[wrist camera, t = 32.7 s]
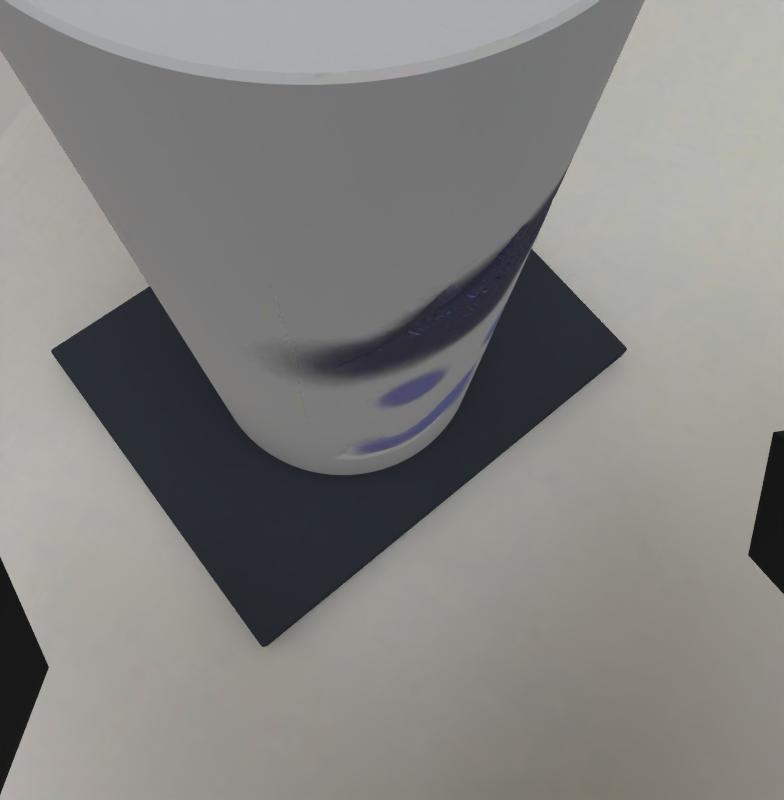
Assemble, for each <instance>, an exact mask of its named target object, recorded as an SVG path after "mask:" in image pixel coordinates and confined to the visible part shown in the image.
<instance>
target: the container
mask: <svg viewBox="0 0 784 800" xmlns="http://www.w3.org/2000/svg"><path fill="white" fill-rule="evenodd" d="M643 3H644V0H0V50H1V52H2V53H3V55H4V56H5V58H6V59H7V61H8V62H9V64H10V66H11V67H12V69H13V70H14V72H15V74H16V75H17V77H18V78H19V80H20V82H21V83H22V85H23V86H24V88H25V90H26V91H27V93H28V94H29V96H30V97H31V99H32V101H33V102H34V104H35V105H36V107H37V109H38V110H39V112H40V113H41V115H42V116H43V118H44V120H45V121H46V123H47V124H48V126H49V127H50V129H51V131H52V132H53V134H54V135H55V137H56V138H57V140H58V142H59V143H60V145H61V146H62V148H63V150H64V151H65V153H66V154H67V156H68V157H69V159H70V161H71V162H72V164H73V165H74V167H75V168H76V170H77V172H78V173H79V175H80V176H81V178H82V180H83V181H84V183H85V184H86V186H87V187H88V189H89V191H90V192H91V194H92V195H93V197H94V198H95V200H96V202H97V203H98V205H99V206H100V208H101V210H102V211H103V213H104V214H105V216H106V217H107V219H108V221H109V222H110V224H111V225H112V227H113V228H114V230H115V232H116V233H117V235H118V236H119V238H120V239H121V241H122V243H123V244H124V246H125V247H126V249H127V251H128V252H129V254H130V255H131V257H132V258H133V260H134V262H135V263H136V265H137V266H138V268H139V269H140V271H141V273H142V274H143V276H144V277H145V279H146V281H147V282H148V284H149V285H150V287H151V288H152V290H153V292H154V293H155V295H156V296H157V298H158V299H159V301H160V303H161V304H162V306H163V307H164V309H165V310H166V312H167V314H168V315H169V317H170V318H171V320H172V322H173V323H174V325H175V326H176V328H177V329H178V331H179V333H180V334H181V336H182V337H183V339H184V340H185V342H186V344H187V345H188V347H189V348H190V350H191V352H192V353H193V355H194V356H195V358H196V359H197V361H198V363H199V364H200V366H201V367H202V369H203V370H204V372H205V374H206V375H207V377H208V378H209V380H210V382H211V383H212V385H213V386H214V388H215V389H216V391H217V393H218V394H219V396H220V397H221V399H222V400H223V402H224V404H225V405H226V407H227V408H228V410H229V412H230V413H231V415H232V416H233V418H234V419H235V421H236V422H237V424H238V425H239V426H240V427H241V429H242V430H243V431H244V432H245V433H246V434H247V435H248V437H250V438H251V439H252V440H253V441H254V442H255V443H256V444H257V445H258V446H260V447H261V448H262V449H264V450H265V451H266V452H268V453H269V454H271V455H272V456H274V457H276V458H278V459H279V460H281V461H283V462H285V463H288V464H290V465H292V466H295V467H298V468H301V469H304V470H308V471H311V472H316V473H322V474H330V475H356V474H364V473H369V472H374V471H378V470H382V469H385V468H388V467H390V466H393V465H396V464H398V463H400V462H402V461H404V460H406V459H408V458H410V457H412V456H413V455H415V454H416V453H418V452H419V451H421V450H422V449H424V448H425V447H426V446H428V445H429V444H430V443H431V442H432V441H433V440H434V439H435V438H436V437H437V436H438V435H439V434H440V433H441V432H442V431H443V430H444V429H445V427H446V426H447V425H448V424H449V422H450V421H451V420H452V418H453V416H454V415H455V413H456V411H457V410H458V408H459V406H460V404H461V402H462V400H463V397H464V395H465V393H466V391H467V389H468V386H469V384H470V382H471V380H472V378H473V375H474V373H475V371H476V369H477V367H478V364H479V362H480V360H481V358H482V356H483V353H484V351H485V349H486V347H487V345H488V342H489V340H490V338H491V336H492V334H493V332H494V329H495V327H496V325H497V323H498V321H499V318H500V316H501V314H502V312H503V310H504V307H505V305H506V303H507V301H508V299H509V296H510V294H511V292H512V290H513V288H514V285H515V283H516V281H517V279H518V277H519V274H520V272H521V270H522V268H523V266H524V264H525V261H526V259H527V257H528V255H529V253H530V250H531V248H532V246H533V244H534V242H535V239H536V237H537V235H538V233H539V231H540V228H541V226H542V224H543V222H544V220H545V217H546V215H547V213H548V210H549V208H550V205H551V203H552V200H553V198H554V196H555V195H556V193H557V191H558V189H559V187H560V184H561V182H562V180H563V178H564V176H565V174H566V171H567V169H568V167H569V165H570V163H571V160H572V158H573V156H574V154H575V152H576V150H577V147H578V145H579V143H580V141H581V139H582V136H583V134H584V132H585V130H586V128H587V125H588V123H589V121H590V119H591V117H592V114H593V112H594V110H595V108H596V106H597V103H598V101H599V99H600V97H601V95H602V92H603V90H604V88H605V86H606V84H607V82H608V79H609V77H610V75H611V73H612V71H613V68H614V66H615V64H616V62H617V60H618V57H619V55H620V53H621V51H622V49H623V46H624V44H625V42H626V40H627V38H628V35H629V33H630V31H631V29H632V27H633V24H634V22H635V20H636V18H637V16H638V14H639V11H640V9H641V7H642V5H643Z"/></svg>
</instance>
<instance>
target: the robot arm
mask: <svg viewBox="0 0 784 800" xmlns="http://www.w3.org/2000/svg"><path fill="white" fill-rule="evenodd" d="M748 555H749V556H750V558H751V559H752V560H753V561H754V562H755V563H756V564H757V565H758V566H759V567H760V569H761V570H762V571H763V572H764V573H765V574H766V575H767V576H768V577H769V579H770V580H771V581H772V582H773V583H774V584H775V585H776V586H777V587H778V588H779V590H780V591H781V592H782V593H783V594H784V431H778V432H773V437H772V442H771V447H770V452H769V457H768V461H767V466H766V471H765V476H764V481H763V486H762V491H761V496H760V500H759V505H758V510H757V515H756V520H755V525H754V530H753V535H752V539H751V544H750V549H749V554H748ZM48 668H49V666H48V664H47V662H46V660H45V657H44V655H43V653H42V651H41V648H40V646H39V644H38V641H37V639H36V637H35V635H34V632H33V630H32V628H31V626H30V623H29V621H28V619H27V617H26V614H25V612H24V610H23V607H22V605H21V603H20V601H19V598H18V596H17V594H16V592H15V589H14V587H13V585H12V583H11V580H10V578H9V576H8V573H7V571H6V569H5V567H4V564H3V562H2V560H1V558H0V794H1V791H2V788H3V786H4V783H5V781H6V778H7V775H8V773H9V770H10V767H11V765H12V762H13V760H14V757H15V754H16V752H17V749H18V747H19V744H20V741H21V739H22V736H23V733H24V731H25V728H26V726H27V723H28V720H29V718H30V715H31V712H32V710H33V707H34V705H35V702H36V699H37V697H38V694H39V692H40V689H41V686H42V684H43V681H44V678H45V676H46V673H47V671H48Z"/></svg>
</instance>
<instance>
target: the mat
mask: <svg viewBox="0 0 784 800" xmlns="http://www.w3.org/2000/svg"><path fill="white" fill-rule="evenodd" d="M626 350H627V348H626V347H625V346H624V345H623V344H622V343H621V342H620V341H619V340H618V338H617V337H616V336H615V335H614V334H613V333H612V332H611V331H610V330H609V329H608V328H607V327H606V326H605V325H604V324H603V323H602V322H601V321H600V320H599V319H598V318H597V317H596V316H595V314H594V313H593V312H592V311H591V310H590V309H589V308H588V307H587V306H586V305H585V304H584V303H583V302H582V301H581V300H580V299H579V298H578V297H577V296H576V295H575V294H574V293H573V291H572V290H571V289H570V288H569V287H568V286H567V285H566V284H565V283H564V282H563V281H562V280H561V279H560V278H559V277H558V276H557V275H556V274H555V273H554V272H553V271H552V270H551V268H550V267H549V266H548V265H547V264H546V263H545V262H544V261H543V260H542V259H541V258H540V257H539V256H538V255H537V254H536V253H535V252H534V251H533V250H532V249H531V250H530V253H529V255H528V257H527V259H526V261H525V264H524V266H523V268H522V270H521V272H520V274H519V277H518V279H517V281H516V283H515V285H514V288H513V290H512V292H511V294H510V296H509V299H508V301H507V303H506V305H505V307H504V310H503V312H502V314H501V316H500V318H499V321H498V323H497V325H496V327H495V329H494V332H493V334H492V336H491V338H490V340H489V342H488V345H487V347H486V349H485V351H484V353H483V356H482V358H481V360H480V362H479V364H478V367H477V369H476V371H475V373H474V375H473V378H472V380H471V382H470V384H469V386H468V389H467V391H466V393H465V395H464V397H463V400H462V402H461V404H460V406H459V408H458V410H457V411H456V413H455V415H454V416H453V418H452V420H451V421H450V422H449V424H448V425H447V426H446V427H445V429H444V430H443V431H442V432H441V433H440V434H439V435H438V436H437V437H436V438H435V439H434V440H433V441H432V442H431V443H430V444H429V445H428V446H426V447H425V448H424V449H422V450H421V451H419V452H418V453H416V454H415V455H413V456H412V457H410V458H408V459H406V460H404V461H402V462H400V463H398V464H396V465H393V466H390V467H388V468H385V469H382V470H378V471H374V472H369V473H364V474H356V475H330V474H322V473H316V472H311V471H308V470H304V469H301V468H298V467H295V466H292V465H290V464H288V463H285V462H283V461H281V460H279V459H278V458H276V457H274V456H272V455H271V454H269V453H268V452H266V451H265V450H264V449H262V448H261V447H260V446H258V445H257V444H256V443H255V442H254V441H253V440H252V439H251V438H250V437H248V435H247V434H246V433H245V432H244V431H243V430H242V429H241V427H240V426H239V425H238V424H237V422H236V421H235V419H234V418H233V416H232V415H231V413H230V412H229V410H228V408H227V407H226V405H225V404H224V402H223V400H222V399H221V397H220V396H219V394H218V393H217V391H216V389H215V388H214V386H213V385H212V383H211V382H210V380H209V378H208V377H207V375H206V374H205V372H204V370H203V369H202V367H201V366H200V364H199V363H198V361H197V359H196V358H195V356H194V355H193V353H192V352H191V350H190V348H189V347H188V345H187V344H186V342H185V340H184V339H183V337H182V336H181V334H180V333H179V331H178V329H177V328H176V326H175V325H174V323H173V322H172V320H171V318H170V317H169V315H168V314H167V312H166V310H165V309H164V307H163V306H162V304H161V303H160V301H159V299H158V298H157V296H156V295H155V293H154V292H153V290H152V288H151V287H148V288H147V289H145V290H143V291H142V292H140V293H139V294H137V295H136V296H134V297H133V298H131V299H130V300H128V301H126V302H125V303H123V304H122V305H120V306H119V307H117V308H116V309H114V310H113V311H111V312H109V313H108V314H106V315H105V316H103V317H102V318H100V319H99V320H97V321H96V322H94V323H92V324H91V325H89V326H88V327H86V328H85V329H83V330H82V331H80V332H79V333H77V334H75V335H74V336H72V337H71V338H69V339H68V340H66V341H65V342H63V343H62V344H60V345H58V346H57V347H55V348H54V349H52V350H51V352H52V354H53V355H54V357H55V358H56V359H57V361H58V362H59V364H60V365H61V366H62V368H63V369H64V371H65V372H66V373H67V375H68V376H69V378H70V379H71V380H72V382H73V383H74V385H75V386H76V387H77V389H78V390H79V392H80V393H81V394H82V396H83V397H84V399H85V400H86V401H87V403H88V404H89V406H90V407H91V408H92V410H93V411H94V413H95V414H96V415H97V417H98V418H99V420H100V421H101V422H102V424H103V425H104V427H105V428H106V429H107V431H108V432H109V434H110V435H111V436H112V438H113V439H114V441H115V442H116V443H117V445H118V446H119V448H120V449H121V450H122V452H123V453H124V455H125V456H126V457H127V459H128V460H129V462H130V463H131V464H132V466H133V467H134V469H135V470H136V471H137V473H138V474H139V476H140V477H141V478H142V480H143V481H144V483H145V484H146V485H147V487H148V488H149V490H150V491H151V492H152V494H153V495H154V496H155V498H156V499H157V501H158V502H159V503H160V505H161V506H162V508H163V509H164V510H165V512H166V513H167V515H168V516H169V517H170V519H171V520H172V522H173V523H174V524H175V526H176V527H177V529H178V530H179V531H180V533H181V534H182V536H183V537H184V538H185V540H186V541H187V543H188V544H189V545H190V547H191V548H192V550H193V551H194V552H195V554H196V555H197V557H198V558H199V559H200V561H201V562H202V564H203V565H204V566H205V568H206V569H207V571H208V572H209V573H210V575H211V576H212V578H213V579H214V580H215V582H216V583H217V585H218V586H219V587H220V589H221V590H222V592H223V593H224V594H225V596H226V597H227V599H228V600H229V601H230V603H231V604H232V606H233V607H234V608H235V610H236V611H237V613H238V614H239V615H240V617H241V618H242V620H243V621H244V622H245V624H246V625H247V627H248V628H249V629H250V631H251V632H252V634H253V635H254V636H255V638H256V639H257V641H258V642H259V643H260V645H261V646H262V647H265V646H268V645H269V644H270V643H271V642H273V641H274V640H275V639H276V638H277V637H279V636H280V635H281V634H282V633H284V632H285V631H286V630H287V629H288V628H290V627H291V626H292V625H293V624H294V623H296V622H297V621H298V620H299V619H301V618H302V617H303V616H304V615H305V614H307V613H308V612H309V611H310V610H312V609H313V608H314V607H315V606H316V605H318V604H319V603H320V602H321V601H323V600H324V599H325V598H326V597H327V596H329V595H330V594H331V593H332V592H334V591H335V590H336V589H337V588H338V587H340V586H341V585H342V584H343V583H345V582H346V581H347V580H348V579H349V578H351V577H352V576H353V575H354V574H356V573H357V572H358V571H359V570H360V569H362V568H363V567H364V566H365V565H367V564H368V563H369V562H370V561H371V560H373V559H374V558H375V557H376V556H378V555H379V554H380V553H381V552H382V551H384V550H385V549H386V548H387V547H389V546H390V545H391V544H392V543H393V542H395V541H396V540H397V539H398V538H400V537H401V536H402V535H403V534H404V533H406V532H407V531H408V530H409V529H410V528H412V527H413V526H414V525H415V524H417V523H418V522H419V521H420V520H421V519H423V518H424V517H425V516H426V515H428V514H429V513H430V512H431V511H432V510H434V509H435V508H436V507H437V506H439V505H440V504H441V503H442V502H443V501H445V500H446V499H447V498H448V497H450V496H451V495H452V494H453V493H454V492H456V491H457V490H458V489H459V488H461V487H462V486H463V485H464V484H465V483H467V482H468V481H469V480H470V479H472V478H473V477H474V476H475V475H476V474H478V473H479V472H480V471H481V470H483V469H484V468H485V467H486V466H487V465H489V464H490V463H491V462H492V461H494V460H495V459H496V458H497V457H498V456H500V455H501V454H502V453H503V452H505V451H506V450H507V449H508V448H509V447H511V446H512V445H513V444H514V443H516V442H517V441H518V440H519V439H520V438H522V437H523V436H524V435H525V434H526V433H528V432H529V431H530V430H531V429H533V428H534V427H535V426H536V425H537V424H539V423H540V422H541V421H542V420H544V419H545V418H546V417H547V416H548V415H550V414H551V413H552V412H553V411H555V410H556V409H557V408H558V407H559V406H561V405H562V404H563V403H564V402H566V401H567V400H568V399H569V398H570V397H572V396H573V395H574V394H575V393H577V392H578V391H579V390H580V389H581V388H583V387H584V386H585V385H586V384H588V383H589V382H590V381H591V380H592V379H594V378H595V377H596V376H597V375H599V374H600V373H601V372H602V371H603V370H605V369H606V368H607V367H608V366H610V365H611V364H612V363H613V362H614V361H616V360H617V359H618V358H619V357H621V356H622V354H623V353H624V352H625V351H626Z"/></svg>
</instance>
